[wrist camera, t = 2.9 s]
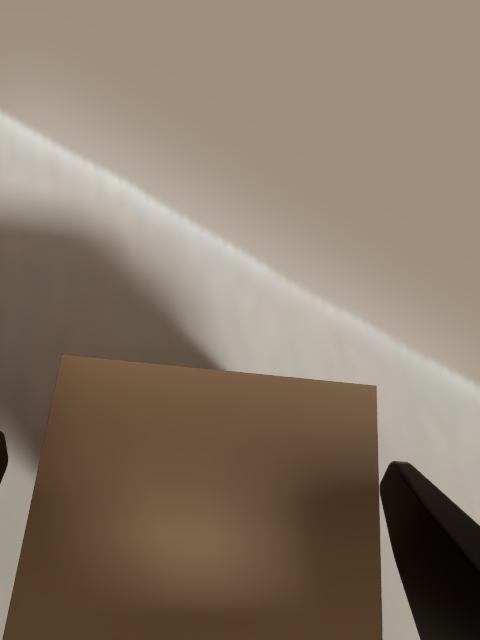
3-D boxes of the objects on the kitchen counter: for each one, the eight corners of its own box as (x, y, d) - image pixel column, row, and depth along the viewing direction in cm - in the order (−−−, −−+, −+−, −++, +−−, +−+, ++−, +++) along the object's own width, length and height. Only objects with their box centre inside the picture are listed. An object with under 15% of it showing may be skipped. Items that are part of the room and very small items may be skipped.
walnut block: (254, 562, 15) (386, 773, 6) (105, 556, 14) (-28, 785, 5) (263, 414, 17) (376, 385, 7) (129, 402, 16) (61, 354, 7)
